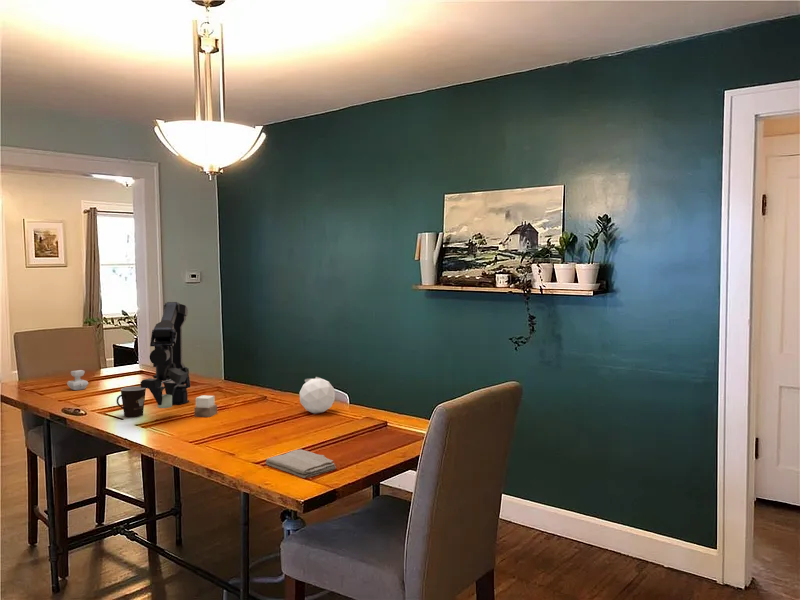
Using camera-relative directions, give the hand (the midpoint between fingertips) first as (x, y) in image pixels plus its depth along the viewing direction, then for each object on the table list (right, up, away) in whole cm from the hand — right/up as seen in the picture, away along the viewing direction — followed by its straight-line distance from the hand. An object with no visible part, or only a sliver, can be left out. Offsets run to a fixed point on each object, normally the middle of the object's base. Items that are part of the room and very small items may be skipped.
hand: (164, 403), depth 230 cm
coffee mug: (-14, -5, +3) cm, 15 cm away
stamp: (-58, -2, +52) cm, 78 cm away
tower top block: (+13, -2, +5) cm, 14 cm away
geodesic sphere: (+54, -5, +11) cm, 55 cm away
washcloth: (+58, -9, -54) cm, 80 cm away
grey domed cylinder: (0, -1, 0) cm, 1 cm away
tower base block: (+13, -5, +6) cm, 15 cm away
